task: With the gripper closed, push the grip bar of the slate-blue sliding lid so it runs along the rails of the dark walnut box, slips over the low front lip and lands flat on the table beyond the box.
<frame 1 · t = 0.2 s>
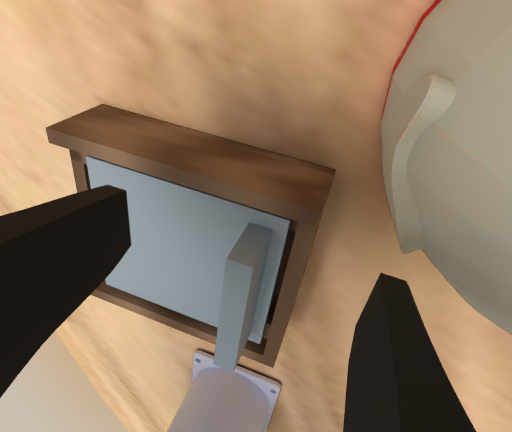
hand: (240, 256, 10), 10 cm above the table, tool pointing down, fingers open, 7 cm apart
lid: (187, 250, 21), point 3 cm above the table, touching box
box: (205, 220, 23), on the table
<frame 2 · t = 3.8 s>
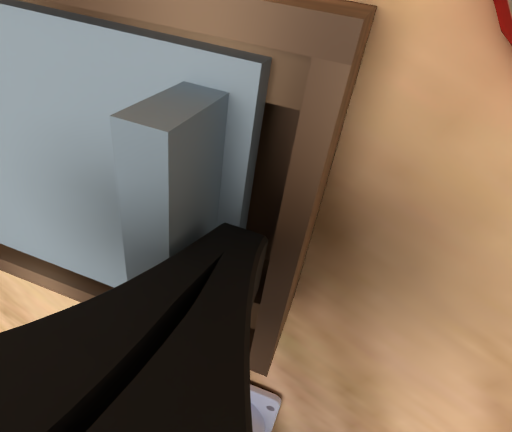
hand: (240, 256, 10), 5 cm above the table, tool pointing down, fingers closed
lid: (99, 170, 12), point 3 cm above the table, touching box, gripper
box: (157, 143, 15), on the table
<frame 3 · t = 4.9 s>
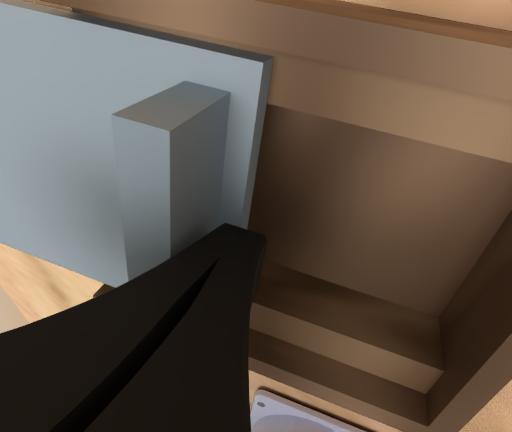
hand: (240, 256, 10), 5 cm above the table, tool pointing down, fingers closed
lid: (100, 170, 12), point 3 cm above the table, touching gripper
box: (308, 186, 13), on the table
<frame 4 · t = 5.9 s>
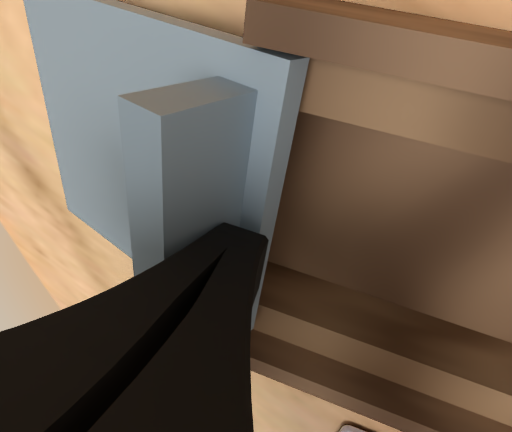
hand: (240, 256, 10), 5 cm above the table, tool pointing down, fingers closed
lid: (151, 159, 13), point 2 cm above the table, tilted 18°, touching box, gripper
box: (456, 228, 12), on the table
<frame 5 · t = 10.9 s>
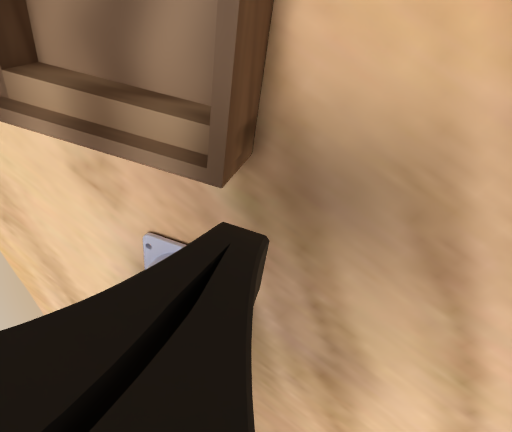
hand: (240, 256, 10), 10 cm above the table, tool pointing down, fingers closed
box: (135, 7, 18), on the table
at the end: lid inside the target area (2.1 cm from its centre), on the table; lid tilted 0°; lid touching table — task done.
